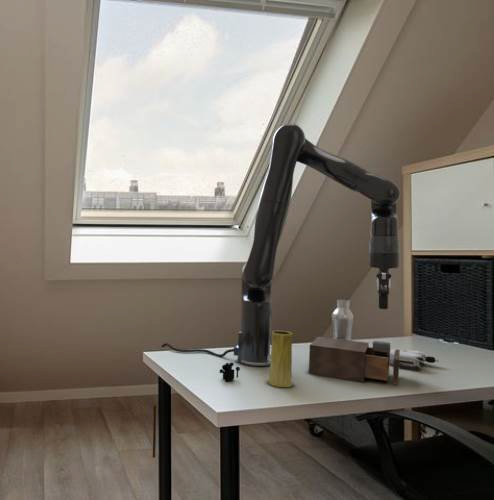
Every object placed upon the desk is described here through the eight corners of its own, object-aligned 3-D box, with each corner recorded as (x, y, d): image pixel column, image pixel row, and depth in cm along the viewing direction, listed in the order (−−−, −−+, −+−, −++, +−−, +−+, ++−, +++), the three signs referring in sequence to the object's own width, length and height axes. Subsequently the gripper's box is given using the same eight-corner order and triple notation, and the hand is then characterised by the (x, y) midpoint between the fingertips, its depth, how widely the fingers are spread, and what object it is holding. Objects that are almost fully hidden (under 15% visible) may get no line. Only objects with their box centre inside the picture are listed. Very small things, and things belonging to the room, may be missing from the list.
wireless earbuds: (220, 383, 130) (221, 364, 130) (215, 380, 132) (215, 362, 132) (240, 380, 133) (241, 362, 133) (234, 377, 135) (235, 359, 135)
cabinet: (367, 370, 146) (368, 342, 146) (363, 382, 133) (365, 352, 133) (316, 362, 154) (317, 336, 153) (308, 373, 141) (309, 344, 141)
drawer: (418, 375, 139) (419, 352, 138) (419, 387, 127) (420, 362, 127) (348, 365, 148) (349, 343, 148) (343, 375, 137) (344, 352, 136)
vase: (280, 388, 126) (282, 335, 126) (263, 382, 131) (265, 331, 131) (296, 386, 129) (298, 333, 128) (279, 379, 134) (281, 329, 134)
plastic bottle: (355, 364, 153) (357, 302, 152) (332, 362, 154) (334, 301, 154) (349, 359, 159) (351, 299, 159) (328, 357, 161) (330, 298, 160)
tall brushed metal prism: (371, 371, 138) (372, 342, 138) (372, 369, 140) (373, 340, 140) (389, 373, 136) (390, 344, 135) (389, 372, 138) (390, 342, 137)
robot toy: (402, 360, 163) (376, 361, 155) (404, 347, 163) (377, 348, 155) (441, 369, 152) (414, 371, 145) (442, 355, 152) (415, 356, 145)
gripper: (369, 250, 146) (368, 303, 146) (369, 251, 134) (368, 309, 134) (398, 251, 142) (397, 305, 143) (400, 252, 130) (399, 311, 130)
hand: (383, 307), depth 138 cm, fingers open, 8 cm apart
